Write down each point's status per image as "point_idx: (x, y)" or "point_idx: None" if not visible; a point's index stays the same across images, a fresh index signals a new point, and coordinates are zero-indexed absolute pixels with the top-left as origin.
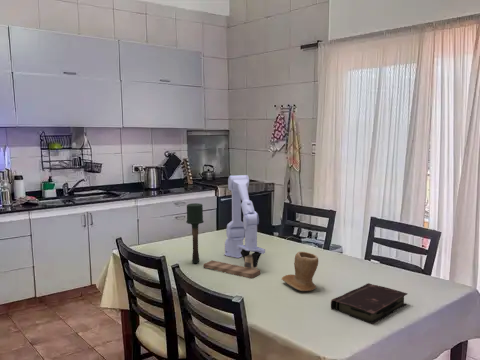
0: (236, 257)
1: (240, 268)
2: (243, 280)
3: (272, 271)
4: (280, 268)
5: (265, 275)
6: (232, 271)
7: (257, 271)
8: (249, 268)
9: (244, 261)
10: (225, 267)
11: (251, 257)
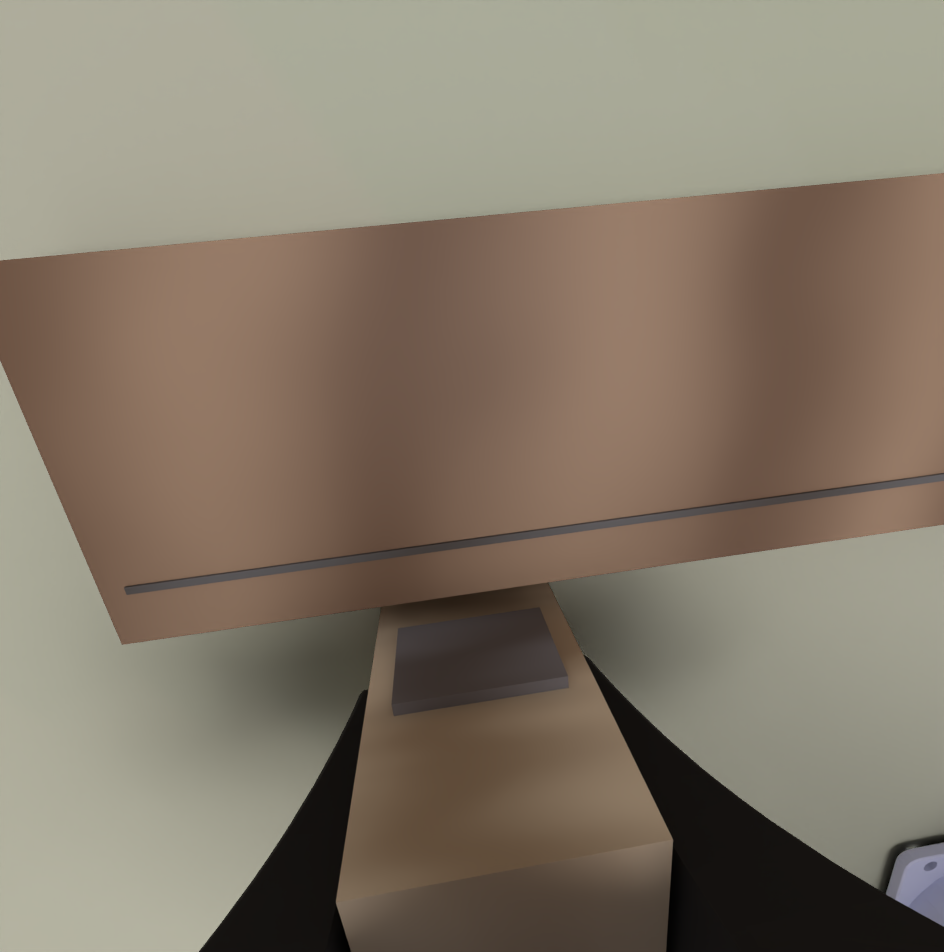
0: (932, 846)
1: (553, 445)
2: (105, 9)
3: (143, 798)
4: (167, 932)
5: (51, 603)
6: (635, 211)
7: (77, 536)
8: (385, 573)
9: (635, 712)
10: (911, 264)
11: (404, 934)
